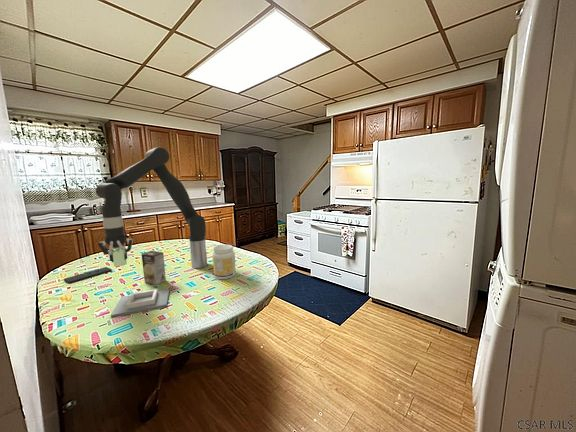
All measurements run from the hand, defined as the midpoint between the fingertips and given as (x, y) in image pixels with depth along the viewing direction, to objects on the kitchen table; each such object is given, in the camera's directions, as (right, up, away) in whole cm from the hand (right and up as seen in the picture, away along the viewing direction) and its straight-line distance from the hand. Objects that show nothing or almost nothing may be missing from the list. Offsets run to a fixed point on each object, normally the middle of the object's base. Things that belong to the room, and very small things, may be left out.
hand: (119, 260), depth 111 cm
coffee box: (+9, -14, +15) cm, 22 cm away
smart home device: (-35, -14, +24) cm, 44 cm away
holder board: (+16, -18, -7) cm, 25 cm away
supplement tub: (+45, -13, +21) cm, 52 cm away
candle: (0, -2, +1) cm, 2 cm away
